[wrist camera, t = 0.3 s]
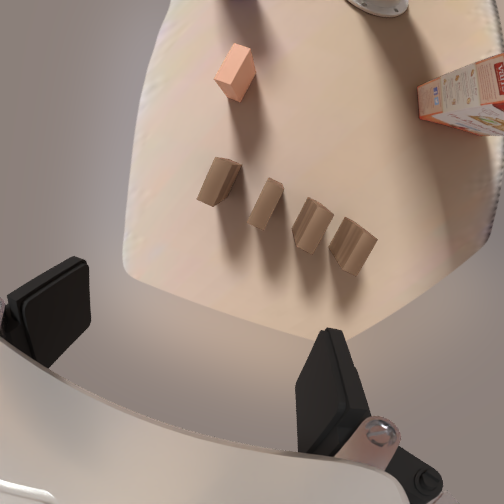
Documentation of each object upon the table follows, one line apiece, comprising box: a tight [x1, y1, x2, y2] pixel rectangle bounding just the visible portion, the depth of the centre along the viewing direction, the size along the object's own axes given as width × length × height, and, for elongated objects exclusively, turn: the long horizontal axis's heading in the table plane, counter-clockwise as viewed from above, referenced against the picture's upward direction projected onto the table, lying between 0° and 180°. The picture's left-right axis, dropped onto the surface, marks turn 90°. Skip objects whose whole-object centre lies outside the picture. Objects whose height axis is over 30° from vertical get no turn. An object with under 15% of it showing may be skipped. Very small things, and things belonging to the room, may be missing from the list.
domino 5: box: [329, 217, 378, 276], centre depth 34 cm, size 2×5×9 cm, turn 155°
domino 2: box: [197, 157, 242, 207], centre depth 33 cm, size 2×5×9 cm, turn 155°
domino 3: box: [247, 178, 284, 231], centre depth 33 cm, size 2×5×9 cm, turn 155°
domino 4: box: [292, 197, 334, 255], centre depth 34 cm, size 2×5×9 cm, turn 155°
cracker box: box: [417, 53, 504, 136], centre depth 21 cm, size 14×6×21 cm, turn 90°
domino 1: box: [214, 43, 256, 103], centre depth 29 cm, size 2×5×9 cm, turn 155°
